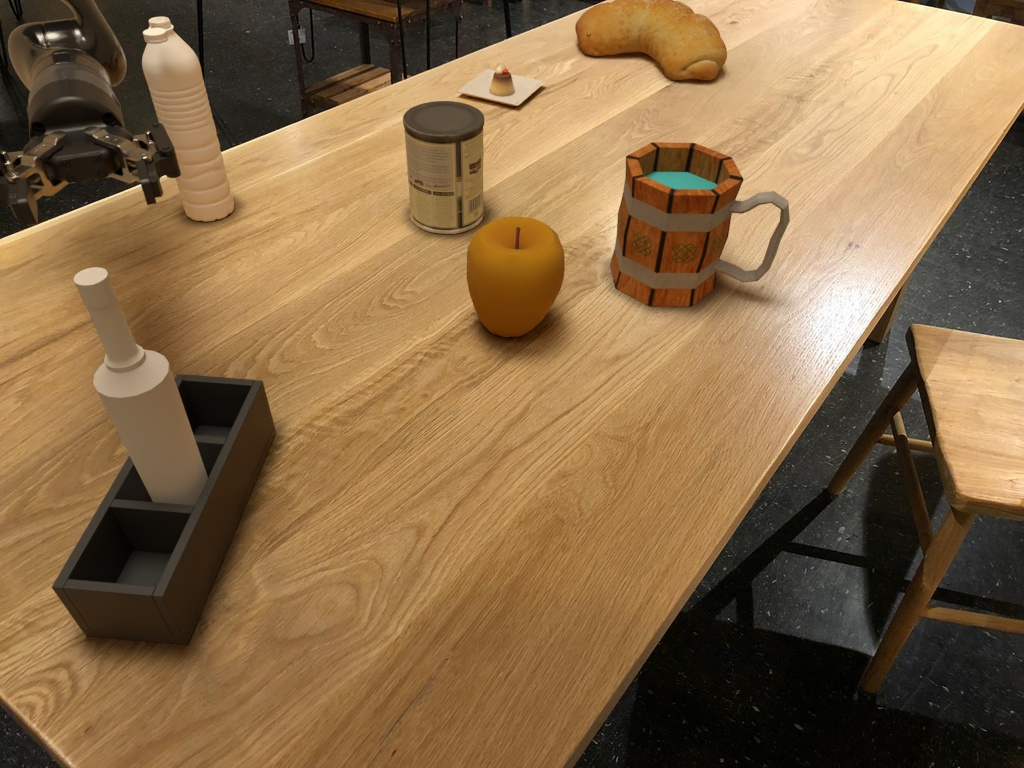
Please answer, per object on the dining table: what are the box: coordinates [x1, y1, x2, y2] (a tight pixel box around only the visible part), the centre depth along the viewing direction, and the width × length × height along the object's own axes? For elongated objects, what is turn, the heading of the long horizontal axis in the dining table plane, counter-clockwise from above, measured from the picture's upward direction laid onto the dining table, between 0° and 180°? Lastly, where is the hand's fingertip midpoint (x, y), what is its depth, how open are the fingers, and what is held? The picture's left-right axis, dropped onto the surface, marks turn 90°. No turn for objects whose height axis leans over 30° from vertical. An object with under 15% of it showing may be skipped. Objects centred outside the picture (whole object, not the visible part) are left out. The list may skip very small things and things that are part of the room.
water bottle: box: [141, 16, 235, 222], centre depth 96 cm, size 9×6×25 cm
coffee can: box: [402, 100, 485, 235], centre depth 101 cm, size 10×10×14 cm
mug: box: [609, 141, 791, 307], centre depth 91 cm, size 20×14×15 cm
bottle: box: [73, 266, 208, 506], centre depth 58 cm, size 5×5×25 cm
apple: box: [466, 216, 566, 338], centre depth 85 cm, size 11×11×13 cm
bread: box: [574, 0, 728, 81], centre depth 150 cm, size 32×20×10 cm, turn 53°
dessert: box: [456, 63, 547, 107], centre depth 136 cm, size 12×12×5 cm
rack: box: [51, 373, 277, 646], centre depth 65 cm, size 8×23×7 cm, turn 176°
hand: (89, 204), depth 59 cm, fingers open, 8 cm apart
